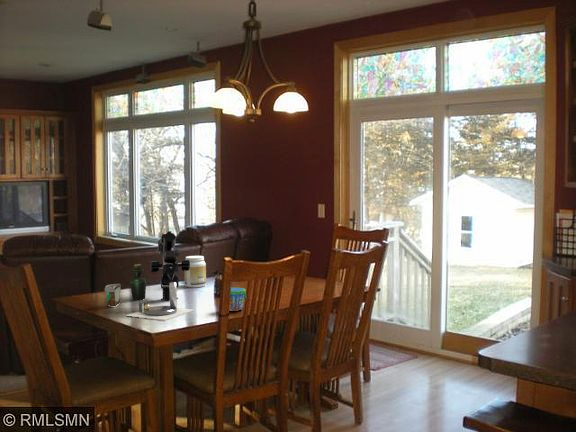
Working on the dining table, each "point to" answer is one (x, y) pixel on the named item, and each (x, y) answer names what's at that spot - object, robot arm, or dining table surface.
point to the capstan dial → (164, 309)
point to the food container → (113, 294)
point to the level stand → (158, 317)
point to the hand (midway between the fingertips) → (171, 279)
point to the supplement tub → (195, 272)
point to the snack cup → (237, 298)
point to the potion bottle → (138, 284)
